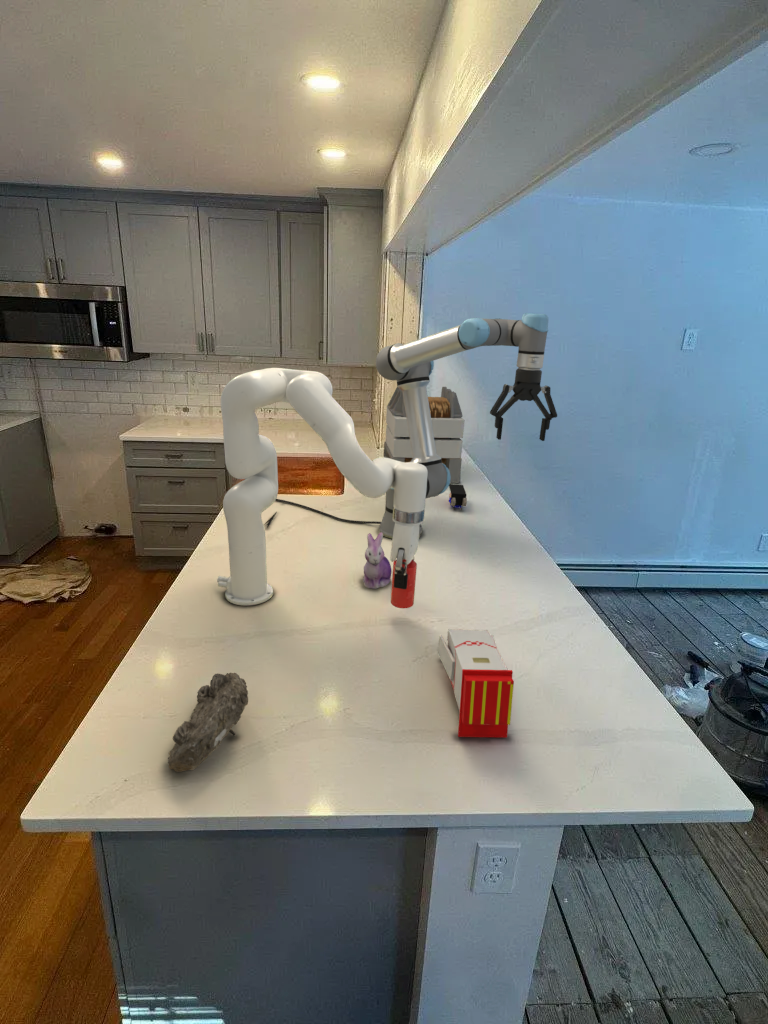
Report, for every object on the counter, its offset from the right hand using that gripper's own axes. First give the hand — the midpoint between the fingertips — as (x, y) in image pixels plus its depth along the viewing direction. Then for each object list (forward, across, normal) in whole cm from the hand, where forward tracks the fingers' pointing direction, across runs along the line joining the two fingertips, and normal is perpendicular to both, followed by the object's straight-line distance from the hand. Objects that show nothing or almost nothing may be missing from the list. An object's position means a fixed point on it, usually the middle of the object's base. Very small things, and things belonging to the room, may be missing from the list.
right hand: (520, 439), depth 175 cm
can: (+34, -38, -43) cm, 67 cm away
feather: (+38, -80, +31) cm, 94 cm away
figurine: (+38, -44, -22) cm, 63 cm away
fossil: (+38, -76, -84) cm, 120 cm away
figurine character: (+38, -8, +46) cm, 61 cm away
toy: (+38, -27, -72) cm, 86 cm away
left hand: (+28, -38, -43) cm, 64 cm away
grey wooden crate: (+38, -18, +94) cm, 103 cm away
